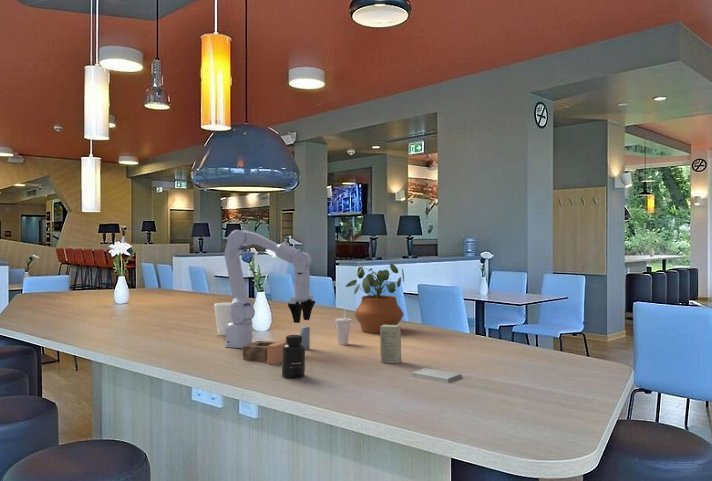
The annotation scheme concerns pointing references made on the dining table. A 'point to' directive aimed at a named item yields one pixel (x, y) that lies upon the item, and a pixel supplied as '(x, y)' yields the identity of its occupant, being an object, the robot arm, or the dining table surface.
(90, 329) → the dining table surface
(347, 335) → the smoothie
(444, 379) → the hard drive
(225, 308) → the foam cup
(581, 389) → the dining table surface
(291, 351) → the supplement bottle
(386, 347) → the skincare box
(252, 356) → the pocket block
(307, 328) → the dowel
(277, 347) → the block
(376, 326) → the potted plant
